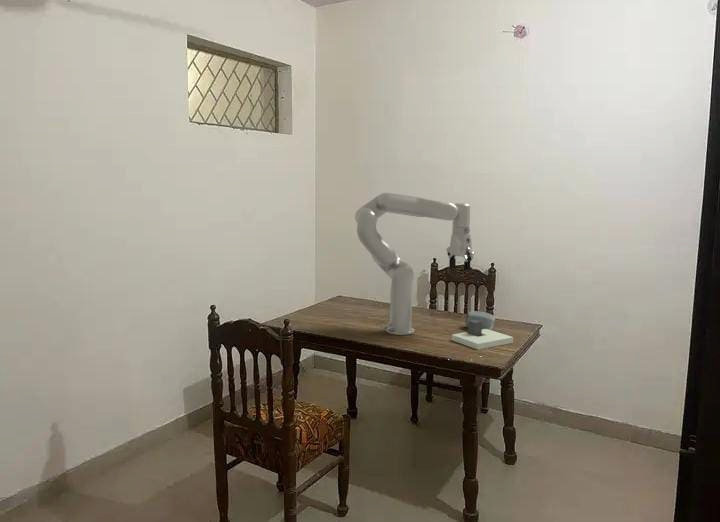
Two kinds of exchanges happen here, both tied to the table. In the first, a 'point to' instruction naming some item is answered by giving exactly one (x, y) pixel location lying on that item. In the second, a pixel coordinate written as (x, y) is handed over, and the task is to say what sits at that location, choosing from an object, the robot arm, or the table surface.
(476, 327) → the gray rectangular block
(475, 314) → the streaked blue-grey ovoid
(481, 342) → the board
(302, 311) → the table surface
